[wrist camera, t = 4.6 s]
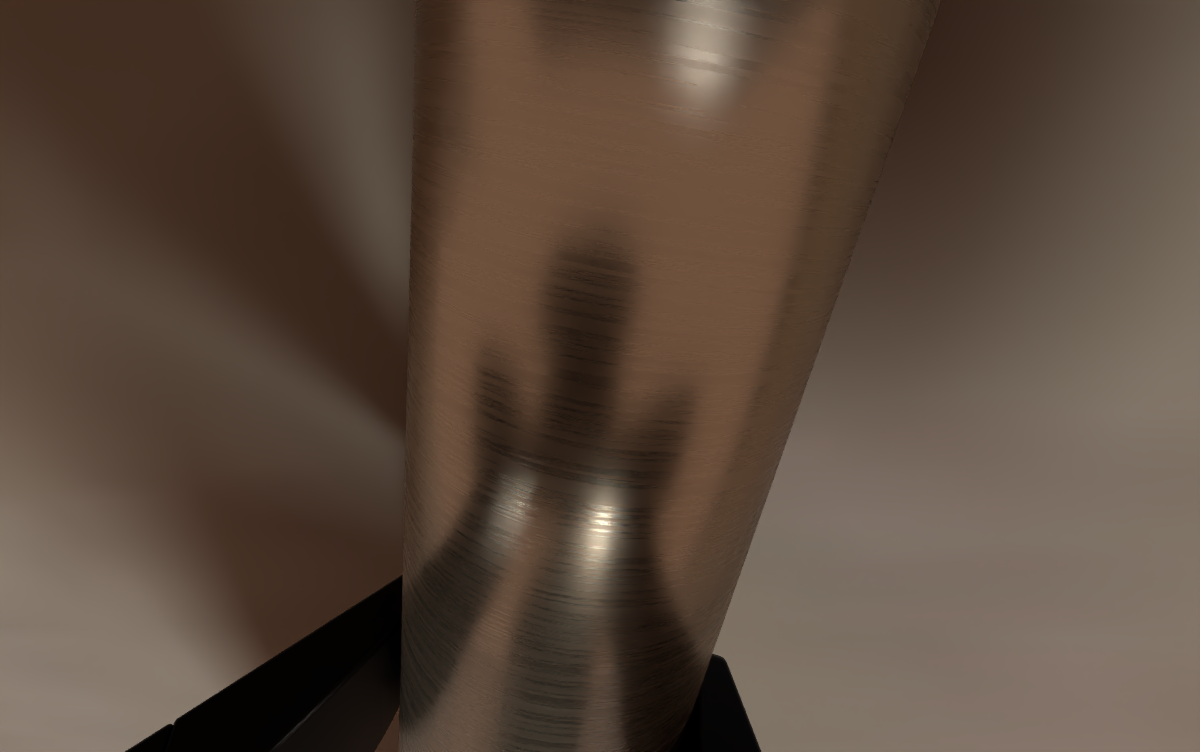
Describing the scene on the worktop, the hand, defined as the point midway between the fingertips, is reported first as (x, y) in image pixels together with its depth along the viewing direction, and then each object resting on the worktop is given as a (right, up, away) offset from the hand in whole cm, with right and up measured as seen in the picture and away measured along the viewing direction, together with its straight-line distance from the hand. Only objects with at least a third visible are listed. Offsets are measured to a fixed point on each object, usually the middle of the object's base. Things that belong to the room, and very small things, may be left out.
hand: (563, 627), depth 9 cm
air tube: (+1, +5, -1) cm, 5 cm away
